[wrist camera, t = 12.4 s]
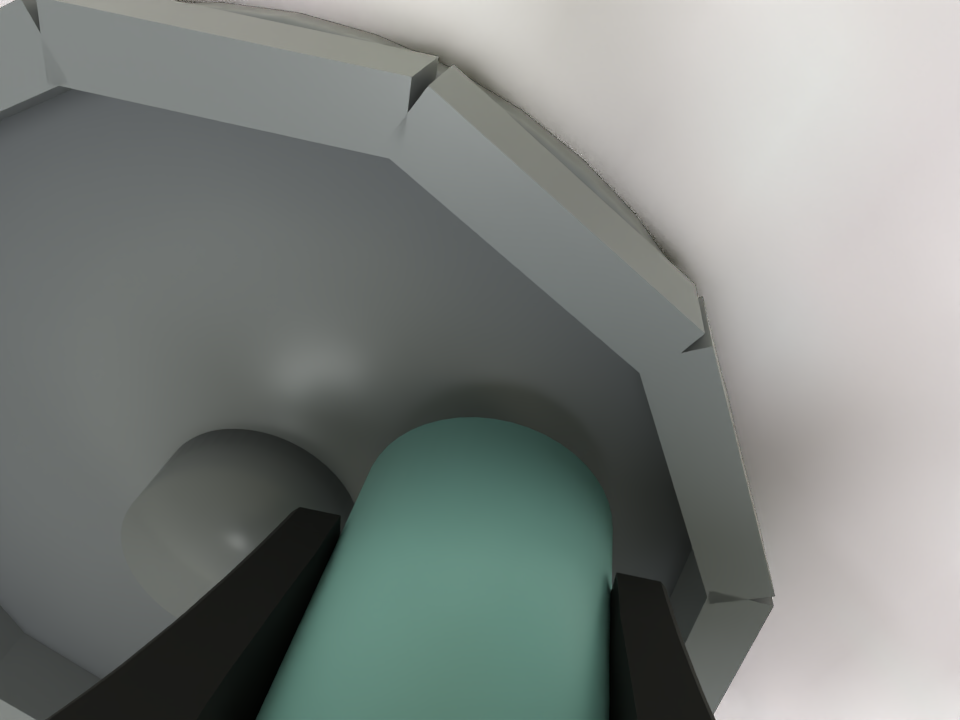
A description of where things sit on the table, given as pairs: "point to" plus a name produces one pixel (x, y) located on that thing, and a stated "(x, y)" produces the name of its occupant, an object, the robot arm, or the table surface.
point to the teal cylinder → (460, 587)
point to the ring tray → (312, 322)
